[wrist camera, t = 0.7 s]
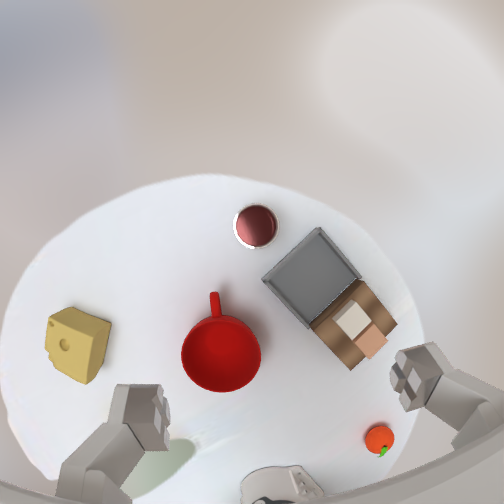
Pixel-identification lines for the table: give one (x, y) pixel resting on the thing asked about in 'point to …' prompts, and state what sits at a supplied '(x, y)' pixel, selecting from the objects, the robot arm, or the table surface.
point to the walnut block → (335, 335)
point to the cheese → (77, 343)
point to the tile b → (369, 340)
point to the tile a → (351, 319)
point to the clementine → (379, 440)
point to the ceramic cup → (220, 351)
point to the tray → (310, 276)
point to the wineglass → (256, 225)
